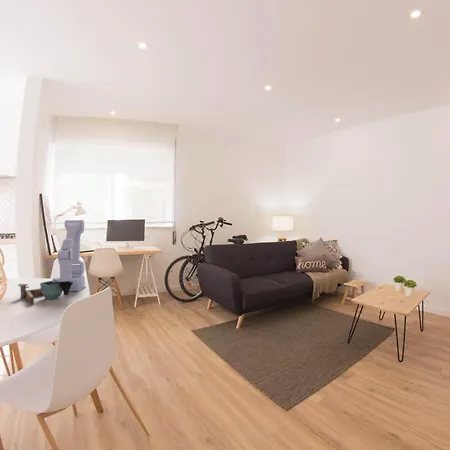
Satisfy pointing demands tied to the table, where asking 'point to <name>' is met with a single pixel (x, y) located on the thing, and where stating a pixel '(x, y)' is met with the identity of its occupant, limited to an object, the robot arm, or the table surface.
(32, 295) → the v jig
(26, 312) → the table surface
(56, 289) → the flower pot
